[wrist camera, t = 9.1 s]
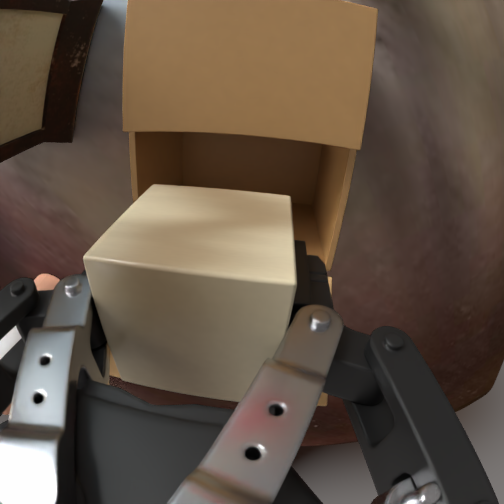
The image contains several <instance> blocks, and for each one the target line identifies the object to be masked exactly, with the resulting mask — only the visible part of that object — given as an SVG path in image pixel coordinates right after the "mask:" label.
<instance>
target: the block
mask: <svg viewBox="0 0 504 504" xmlns="http://www.w3.org/2000/svg"><path fill="white" fill-rule="evenodd" d="M83 262H84V266H85V270H86V274H87V277H88V281H89V285H90V288H91V292H92V295H93V299H94V302H95V306H96V309H97V312H98V315H99V318H100V322H101V325H102V328H103V331H104V334H105V337H106V339H107V342H108V345H109V348H110V351H111V353H112V356H113V359H114V361H115V364H116V366H117V369H118V372H119V374H120V377H121V379H122V380H123V381H127V382H131V383H135V384H139V385H144V386H148V387H153V388H157V389H162V390H167V391H172V392H178V393H183V394H189V395H194V396H201V397H207V398H214V399H221V400H228V401H236V402H240V401H241V399H242V398H243V396H244V394H245V393H246V391H247V389H248V388H249V386H250V384H251V383H252V381H253V379H254V378H255V376H256V374H257V373H258V371H259V369H260V368H261V366H262V364H263V363H264V361H265V360H266V359H267V358H271V359H272V357H273V356H274V354H275V352H276V350H277V348H278V347H279V345H280V343H281V341H282V339H283V337H284V336H285V334H286V332H287V330H288V326H289V322H290V317H291V312H292V308H293V303H294V298H295V293H296V288H297V271H296V255H295V241H294V228H293V216H292V204H291V197H290V196H287V195H278V194H269V193H259V192H249V191H239V190H228V189H216V188H204V187H190V186H175V185H158V184H153V185H152V186H151V187H150V188H148V189H147V190H146V191H145V192H144V193H143V194H142V195H141V196H140V197H139V198H138V199H137V200H136V201H135V202H134V203H133V204H132V205H131V206H130V207H129V208H128V209H127V210H126V211H125V212H124V213H123V214H122V215H121V216H120V217H119V218H118V219H117V220H116V221H115V222H114V223H113V224H112V226H111V227H110V228H109V229H108V230H107V231H106V232H105V233H104V234H103V235H102V236H101V237H100V238H99V239H98V240H97V242H96V243H95V244H94V245H93V246H92V247H91V248H90V249H89V250H88V251H87V253H86V254H85V255H84V257H83Z"/></svg>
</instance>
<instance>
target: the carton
mask: <svg viewBox="0 0 504 504" xmlns="http://www.w3.org/2000/svg"><path fill="white" fill-rule="evenodd" d="M377 17H378V9H375V8H372V7H368V6H364V5H359V4H355V3H351V2H346V1H341V0H128V5H127V14H126V25H125V39H124V56H123V132H129V148H130V167H131V183H132V195H133V203H134V202H135V201H136V200H137V199H138V198H139V197H140V196H141V195H142V194H143V193H144V192H145V191H146V190H147V189H148V188H150V187H151V186H152V185H153V184H158V185H175V186H190V187H204V188H216V189H228V190H239V191H249V192H259V193H269V194H278V195H287V196H290V197H291V204H292V216H293V228H294V240H301V241H305V243H306V250H307V255H316V256H319V258H320V259H321V260H322V261H323V262H324V264H325V266H326V270H327V271H331V267H332V263H333V259H334V255H335V251H336V247H337V243H338V239H339V235H340V230H341V226H342V222H343V217H344V213H345V208H346V203H347V199H348V194H349V189H350V184H351V179H352V174H353V169H354V163H355V158H356V152H357V150H361V144H362V138H363V132H364V126H365V120H366V114H367V107H368V100H369V93H370V85H371V78H372V69H373V61H374V51H375V41H376V30H377Z"/></svg>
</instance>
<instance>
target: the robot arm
mask: <svg viewBox="0 0 504 504" xmlns="http://www.w3.org/2000/svg"><path fill="white" fill-rule="evenodd" d="M294 241H295V255H296V271H297V288H296V293H295V298H294V303H293V308H292V312H291V317H290V322H289V326H288V330H287V332H286V334H285V336H284V337H283V339H282V341H281V343H280V345H279V347H278V348H277V350H276V352H275V354H274V356H273V357H272V359H271V358H267V359H266V360H265V361H264V363H263V364H262V366H261V368H260V369H259V371H258V373H257V374H256V376H255V378H254V379H253V381H252V383H251V384H250V386H249V388H248V389H247V391H246V393H245V394H244V396H243V398H242V399H241V401H240V402H239V404H238V406H237V407H236V409H235V410H232V409H225V408H217V407H210V406H204V405H198V404H190V405H152V404H149V403H147V402H145V401H143V400H141V399H139V398H138V397H136V396H134V395H132V394H130V393H128V392H126V391H124V390H122V389H121V388H118V387H114V386H111V385H109V375H110V348H109V345H108V342H107V339H106V337H105V334H104V331H103V328H102V325H101V322H100V318H99V315H98V312H97V309H96V306H95V302H94V299H93V295H92V292H91V288H90V285H89V281H88V277H87V274H86V270H84V271H83V273H82V274H74V275H70V276H67V277H65V278H63V279H62V280H60V281H59V282H58V283H57V284H56V286H55V287H54V290H41V291H38V290H37V287H36V285H35V282H34V281H33V280H32V279H30V278H19V279H16V280H14V281H12V282H11V283H9V284H8V285H7V286H5V287H4V288H3V289H2V290H1V291H0V340H1V339H2V338H3V337H4V336H5V335H6V334H7V333H8V332H9V331H10V330H11V329H12V328H13V327H15V326H16V328H17V330H18V332H19V334H20V336H21V337H22V338H21V339H20V340H19V341H18V342H17V343H16V344H15V345H14V346H13V347H12V348H11V349H10V350H9V351H8V352H7V353H6V354H5V355H4V356H3V357H2V358H1V359H0V416H1V415H2V414H3V412H4V411H5V410H6V409H7V408H8V406H9V405H10V404H11V409H10V415H9V420H7V421H5V422H3V423H1V424H0V504H323V503H322V502H321V501H320V500H319V498H318V497H317V496H316V495H315V494H314V493H313V491H312V490H311V489H310V488H309V487H308V485H307V484H306V483H305V482H304V481H303V479H302V478H301V477H300V476H299V475H298V473H297V472H296V471H295V470H294V468H293V467H292V466H291V464H292V462H293V460H294V458H295V456H296V454H297V452H298V449H299V447H300V445H301V443H302V440H303V438H304V436H305V433H306V431H307V429H308V426H309V424H310V421H311V419H312V417H313V414H314V412H315V409H316V407H317V404H318V401H319V399H320V396H321V394H322V392H323V393H326V394H329V395H332V396H335V397H339V398H342V399H343V402H344V405H345V407H346V410H347V413H348V415H349V418H350V420H351V423H352V426H353V428H354V431H355V433H356V436H357V439H358V441H359V444H360V446H361V449H362V452H363V455H364V457H365V460H366V463H367V466H368V468H369V471H370V474H371V476H372V479H373V482H374V484H375V487H376V490H377V493H378V496H377V497H376V498H375V499H374V500H373V502H372V503H371V504H499V503H498V500H497V497H496V495H495V493H494V490H493V488H492V486H491V483H490V481H489V479H488V477H487V475H486V472H485V471H484V468H483V466H482V464H481V462H480V460H479V458H478V456H477V454H476V452H475V450H474V448H473V446H472V444H471V442H470V440H469V438H468V436H467V434H466V432H465V430H464V428H463V427H462V424H461V423H460V421H459V419H458V417H457V416H456V413H455V412H454V410H453V408H452V406H451V404H450V403H449V401H448V399H447V397H446V396H445V394H444V392H443V390H442V389H441V387H440V385H439V383H438V382H437V380H436V378H435V377H434V375H433V373H432V372H431V370H430V368H429V367H428V365H427V363H426V362H425V360H424V359H423V357H422V355H421V354H420V352H419V351H418V349H417V347H416V346H415V344H414V343H413V341H412V340H411V338H410V337H409V336H408V335H407V334H406V333H405V332H403V331H402V330H400V329H397V328H394V327H390V326H383V327H379V328H377V329H375V330H374V331H373V332H372V334H371V336H370V335H367V334H363V333H360V332H357V331H354V330H352V329H350V328H348V327H346V326H345V325H344V323H343V319H342V318H341V316H340V315H339V314H338V313H337V312H336V311H335V310H334V308H333V303H332V297H331V292H330V287H329V283H328V276H327V271H326V266H325V264H324V262H323V261H322V260H321V259H320V258H319V256H316V255H307V250H306V243H305V241H301V240H294Z"/></svg>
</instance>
